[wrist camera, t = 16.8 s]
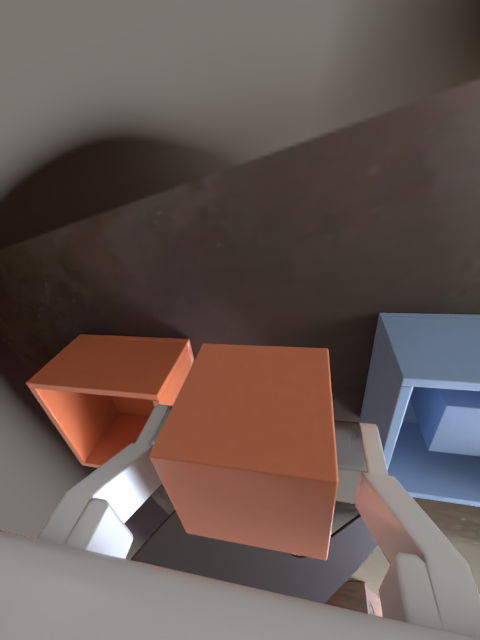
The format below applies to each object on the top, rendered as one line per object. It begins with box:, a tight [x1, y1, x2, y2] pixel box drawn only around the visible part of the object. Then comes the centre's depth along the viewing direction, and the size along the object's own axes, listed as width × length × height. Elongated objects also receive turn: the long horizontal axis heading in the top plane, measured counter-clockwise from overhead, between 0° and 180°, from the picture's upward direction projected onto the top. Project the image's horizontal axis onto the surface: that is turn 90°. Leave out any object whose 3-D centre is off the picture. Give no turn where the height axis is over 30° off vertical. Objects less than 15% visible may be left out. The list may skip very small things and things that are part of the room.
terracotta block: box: [149, 344, 339, 560], centre depth 10 cm, size 4×4×4 cm
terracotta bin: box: [26, 334, 195, 468], centre depth 27 cm, size 11×11×6 cm
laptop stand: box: [131, 510, 378, 604], centre depth 35 cm, size 23×23×9 cm
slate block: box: [410, 387, 480, 456], centre depth 20 cm, size 4×4×4 cm
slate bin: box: [360, 313, 480, 507], centre depth 19 cm, size 11×11×6 cm
